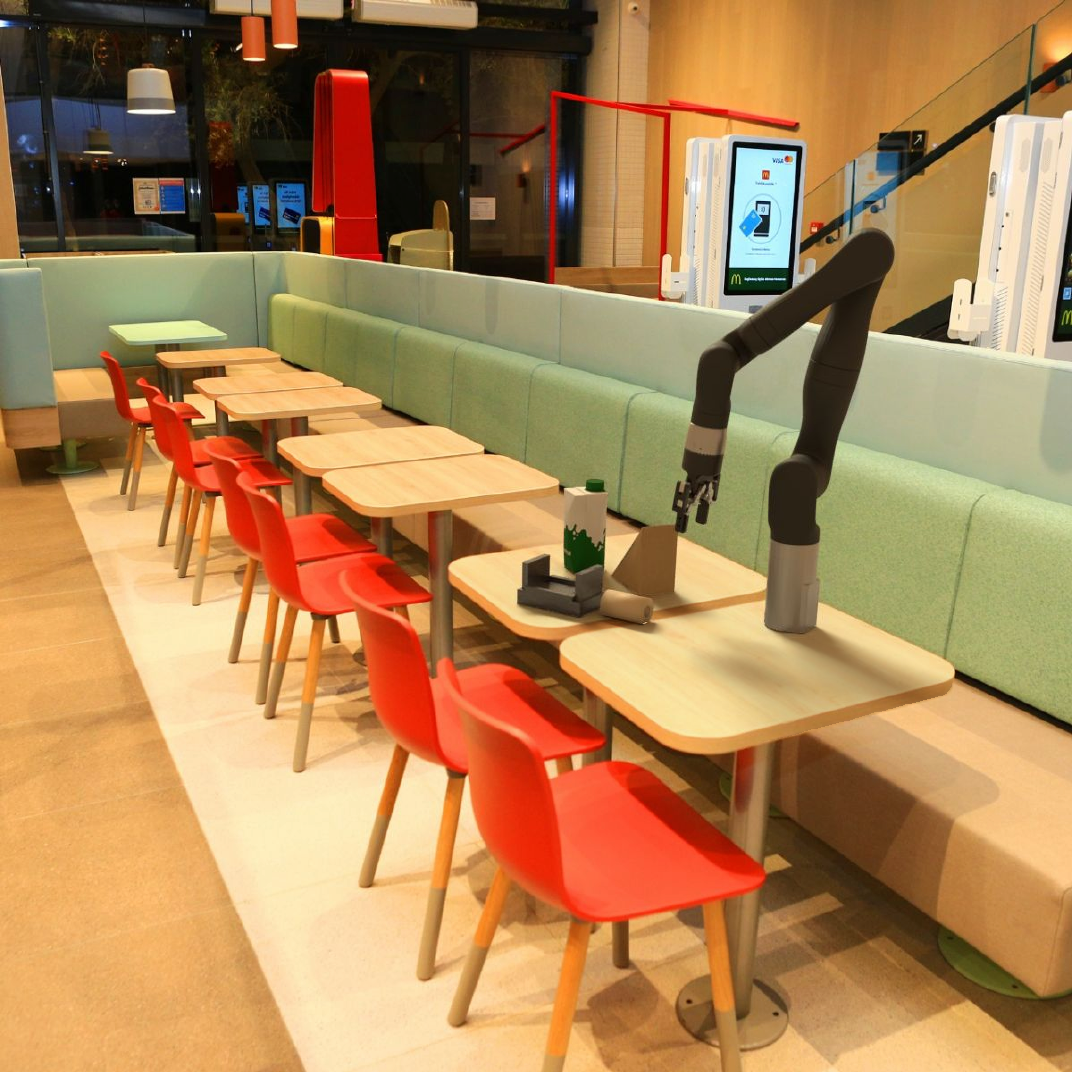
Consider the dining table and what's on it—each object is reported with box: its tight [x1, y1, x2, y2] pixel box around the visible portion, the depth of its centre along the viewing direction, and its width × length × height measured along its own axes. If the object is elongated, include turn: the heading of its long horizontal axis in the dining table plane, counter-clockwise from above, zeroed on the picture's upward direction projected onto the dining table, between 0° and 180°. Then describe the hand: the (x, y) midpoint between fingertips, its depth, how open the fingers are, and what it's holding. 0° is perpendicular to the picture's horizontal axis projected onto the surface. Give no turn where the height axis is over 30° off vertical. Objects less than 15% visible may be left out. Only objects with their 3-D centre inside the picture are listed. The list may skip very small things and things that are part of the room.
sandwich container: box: [610, 523, 679, 597], centre depth 244 cm, size 9×15×15 cm, turn 20°
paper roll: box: [599, 589, 654, 625], centre depth 223 cm, size 9×5×5 cm, turn 55°
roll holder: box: [516, 553, 606, 619], centre depth 231 cm, size 15×10×8 cm, turn 55°
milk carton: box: [562, 478, 610, 575], centre depth 254 cm, size 9×9×20 cm
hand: (690, 527), depth 222 cm, fingers open, 8 cm apart
